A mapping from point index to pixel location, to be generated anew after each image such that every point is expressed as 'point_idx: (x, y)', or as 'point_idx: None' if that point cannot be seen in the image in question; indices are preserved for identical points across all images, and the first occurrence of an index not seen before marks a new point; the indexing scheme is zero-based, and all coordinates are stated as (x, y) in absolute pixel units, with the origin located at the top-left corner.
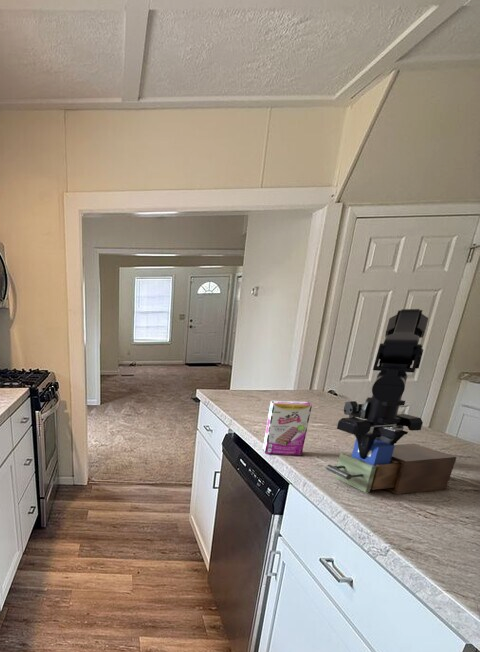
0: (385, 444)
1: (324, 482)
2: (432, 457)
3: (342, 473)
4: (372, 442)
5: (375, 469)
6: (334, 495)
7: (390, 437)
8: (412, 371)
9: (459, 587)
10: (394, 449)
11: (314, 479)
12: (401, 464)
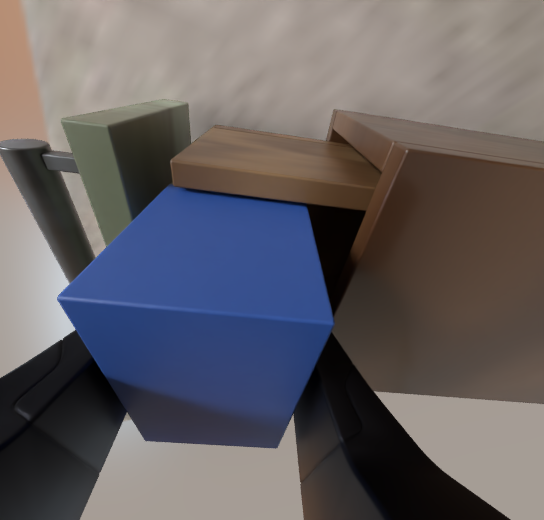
0: (244, 433)
1: (107, 101)
2: (466, 390)
3: (58, 261)
4: (94, 462)
5: None
6: (90, 226)
7: (312, 494)
8: None
9: (125, 416)
10: (508, 282)
11: (65, 33)
12: None
